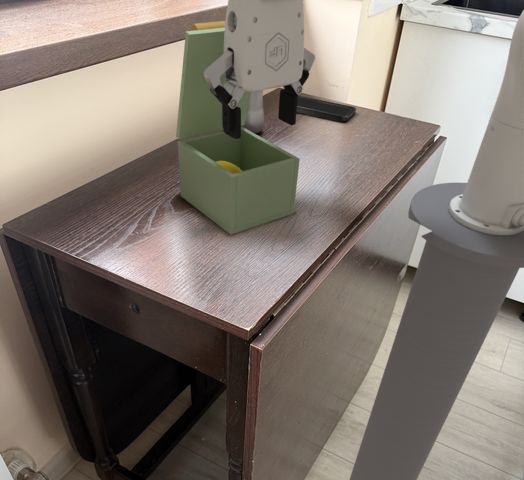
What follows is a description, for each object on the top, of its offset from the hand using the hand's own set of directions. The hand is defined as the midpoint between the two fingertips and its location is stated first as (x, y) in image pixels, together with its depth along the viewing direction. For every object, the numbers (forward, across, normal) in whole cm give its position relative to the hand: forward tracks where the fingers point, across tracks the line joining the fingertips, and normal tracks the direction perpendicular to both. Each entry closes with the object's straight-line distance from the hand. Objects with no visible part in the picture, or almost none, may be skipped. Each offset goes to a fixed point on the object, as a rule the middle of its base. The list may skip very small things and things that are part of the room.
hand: (260, 128), depth 71 cm
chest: (+13, -2, +3) cm, 13 cm away
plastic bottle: (+13, +18, +27) cm, 35 cm away
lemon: (+11, -1, +1) cm, 11 cm away
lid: (-4, -1, +8) cm, 9 cm away
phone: (+13, +40, +29) cm, 52 cm away
